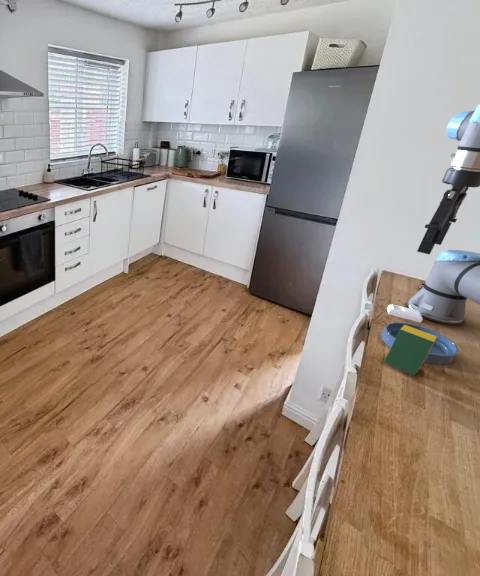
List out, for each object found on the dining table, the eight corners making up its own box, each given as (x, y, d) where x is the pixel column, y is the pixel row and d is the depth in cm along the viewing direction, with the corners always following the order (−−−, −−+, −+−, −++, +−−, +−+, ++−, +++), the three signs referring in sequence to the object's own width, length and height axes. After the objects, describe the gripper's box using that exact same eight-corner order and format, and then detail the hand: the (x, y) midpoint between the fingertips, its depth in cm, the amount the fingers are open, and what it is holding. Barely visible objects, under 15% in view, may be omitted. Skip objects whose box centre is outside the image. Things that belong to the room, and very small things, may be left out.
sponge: (388, 357, 104) (404, 324, 99) (418, 370, 99) (437, 336, 94) (383, 363, 101) (400, 329, 96) (414, 376, 97) (433, 342, 92)
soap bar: (420, 323, 122) (423, 316, 121) (387, 315, 126) (390, 308, 125) (418, 317, 126) (421, 310, 125) (386, 309, 130) (389, 302, 129)
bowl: (389, 325, 120) (394, 316, 118) (457, 351, 109) (463, 341, 107) (373, 343, 110) (377, 334, 108) (445, 373, 99) (451, 363, 97)
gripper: (457, 164, 103) (423, 236, 112) (438, 169, 88) (400, 252, 98) (494, 168, 98) (455, 243, 107) (480, 175, 83) (436, 261, 93)
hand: (429, 248), depth 103 cm, fingers open, 13 cm apart
